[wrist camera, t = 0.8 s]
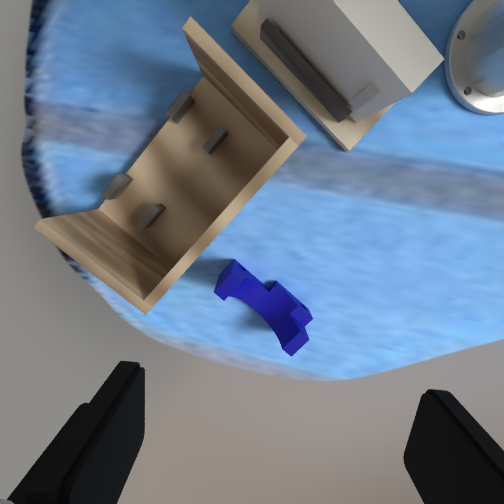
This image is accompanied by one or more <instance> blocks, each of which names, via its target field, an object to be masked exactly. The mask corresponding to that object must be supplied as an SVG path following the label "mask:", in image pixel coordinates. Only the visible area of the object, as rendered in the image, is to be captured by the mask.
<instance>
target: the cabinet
mask: <svg viewBox="0 0 504 504" xmlns="http://www.w3.org/2000/svg"><path fill="white" fill-rule="evenodd" d="M182 29H183V32H184V34H185V36H186V38H187V41H188V43H189V45H190V47H191V50H192V52H193V54H194V56H195V59H196V61H197V63H198V65H199V68H200V70H201V72H202V74H203V76H202V78H201V79H200V80H199V81H198V83H197V84H196V85H195V87H194V88H193V89H192V90H191V92H190V93H188V92H187V91H186V90H185V89H184V90H183V91H182V92H181V93H180V95H179V96H178V97H177V98H176V100H175V101H174V102H173V104H172V105H171V106H170V107H169V109H168V110H167V111H166V114H167V115H168V116H169V117H170V118H169V120H168V121H167V122H166V123H165V125H164V126H163V127H162V129H161V130H160V131H159V132H158V134H157V135H156V136H155V137H154V139H153V140H152V141H151V143H150V144H149V145H148V146H147V148H146V149H145V150H144V151H143V153H142V154H141V155H140V157H139V158H138V159H137V160H136V162H135V163H134V164H133V165H132V167H131V168H130V169H129V171H128V172H127V173H126V174H117V176H116V177H115V178H114V179H113V181H112V182H111V183H110V184H109V186H108V187H107V188H106V190H105V191H104V192H103V193H102V196H103V197H104V198H105V199H106V200H105V201H104V202H103V204H102V205H101V206H100V207H99V209H95V210H89V211H83V212H78V213H72V214H67V215H61V216H55V217H50V218H44V219H40V220H39V221H38V222H37V224H36V225H35V226H34V229H35V230H37V231H38V232H39V233H41V234H42V235H43V236H44V237H46V238H47V239H48V240H50V241H51V242H52V243H53V244H55V245H56V246H57V247H59V248H60V249H61V250H63V251H64V252H65V253H66V254H68V255H69V256H70V257H72V258H73V259H74V260H75V261H77V262H78V263H79V264H81V265H82V266H83V267H84V268H86V269H87V270H88V271H90V272H91V273H92V274H93V275H95V276H96V277H97V278H99V279H100V280H101V281H103V282H104V283H105V284H106V285H108V286H109V287H110V288H112V289H113V290H114V291H115V292H117V293H118V294H119V295H121V296H122V297H123V298H124V299H126V300H127V301H128V302H130V303H131V304H132V305H134V306H135V307H136V308H137V309H139V310H140V311H141V312H143V313H144V314H145V315H146V314H147V313H148V312H149V311H150V310H151V308H152V307H153V306H154V305H155V304H156V303H157V302H158V301H159V300H160V298H161V297H162V296H163V295H164V294H165V293H166V292H167V291H168V290H169V289H170V287H171V286H172V285H173V284H174V283H175V282H176V281H177V280H178V279H179V277H180V276H181V275H182V274H183V273H184V272H185V271H186V270H187V269H188V268H189V266H190V265H191V264H192V263H193V262H194V261H195V260H196V259H197V258H198V256H199V255H200V254H201V253H202V252H203V251H204V250H205V249H206V248H207V246H208V245H209V244H210V243H211V242H212V241H213V240H214V239H215V238H216V237H217V235H218V234H219V233H220V232H221V231H222V230H223V229H224V228H225V227H226V225H227V224H228V223H229V222H230V221H231V220H232V219H233V218H234V217H235V216H236V214H237V213H238V212H239V211H240V210H241V209H242V208H243V207H244V206H245V204H246V203H247V202H248V201H249V200H250V199H251V198H252V197H253V196H254V195H255V193H256V192H257V191H258V190H259V189H260V188H261V187H262V186H263V185H264V183H265V182H266V181H267V180H268V179H269V178H270V177H271V176H272V175H273V174H274V172H275V171H276V170H277V169H278V168H279V167H280V166H281V165H282V164H283V162H284V161H285V160H286V159H287V158H288V157H289V156H290V155H291V154H292V153H293V151H294V150H295V149H296V148H297V147H298V146H299V145H300V144H301V143H302V141H303V140H304V139H305V138H306V137H307V136H306V135H305V134H304V133H303V131H302V130H301V129H300V128H299V127H298V126H297V125H296V124H295V123H294V122H293V121H292V120H291V119H290V118H289V117H288V116H287V115H286V114H285V113H284V112H283V111H282V110H281V109H280V108H279V107H278V106H277V105H276V104H275V103H274V102H273V101H272V100H271V98H270V97H269V96H268V95H267V94H266V93H265V92H264V91H263V90H262V89H261V88H260V87H259V86H258V85H257V84H256V83H255V82H254V81H253V80H252V79H251V78H250V77H249V76H248V75H247V74H246V73H245V72H244V71H243V70H242V69H241V68H240V67H239V65H238V64H237V63H236V62H235V61H234V60H233V59H232V58H231V57H230V56H229V55H228V54H227V53H226V52H225V51H224V50H223V49H222V48H221V47H220V46H219V45H218V44H217V43H216V42H215V41H214V40H213V39H212V38H211V37H210V36H209V35H208V34H207V32H206V31H205V30H204V29H203V28H202V27H201V26H200V25H199V24H198V23H197V22H196V21H195V20H194V19H193V18H192V17H191V16H190V18H189V19H188V20H187V22H186V23H185V24H184V26H183V27H182Z"/></svg>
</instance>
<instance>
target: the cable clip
mask: <svg viewBox="0 0 504 504" xmlns="http://www.w3.org/2000/svg"><path fill="white" fill-rule="evenodd" d="M214 293H215V294H216V295H218V296H219V297H220V298H221V299H222V300H225V299H226V298H227V297H228V296H232V297H236V298H238V299H240V300H242V301H244V302H245V303H247V304H248V305H250V306H251V307H252V308H253V309H255V310H256V311H257V312H258V313H259V314H260V315H261V316H262V317H263V318H264V319H265V321H266V322H267V323H268V324H269V325H270V327H271V328H272V329H273V331H274V332H275V334H276V336H277V337H278V339H279V341H280V344H281V347H282V349H283V350H284V351H285V352H286V353H287V354H289V355H290V356H293V355H294V354H295V353H296V352H297V351H298V350H299V349H300V348H301V347H302V346H303V345H304V344H305V343H306V342H308V341H309V337H308V335H307V332H306V329H305V326H306V325H307V324H308V323H309V322H310V321H311V320H312V319H313V318H312V316H311V313H310V311H309V309H308V308H307V307H306V306H304V305H303V304H302V303H301V302H300V301H299V300H298V299H297V298H295V297H294V296H293V295H292V294H291V293H290V292H289V291H287V290H286V289H285V288H284V287H283V286H282V285H281V284H280V283H278V282H277V281H275V282H274V283H273V284H272V285H271V286H270V288H269V289H268V288H267V287H266V286H265V285H264V284H263V283H261V282H260V281H259V280H258V279H257V278H256V277H255V276H253V275H252V274H251V273H250V272H249V271H248V270H247V269H245V268H244V267H243V266H242V265H241V264H240V263H238V262H237V261H236V260H235V259H234V260H233V261H232V262H231V263H230V264H229V266H228V267H227V268H226V269H225V270H224V271H223V272H222V273H221V274H220V275H219V278H218V281H217V284H216V287H215V290H214Z"/></svg>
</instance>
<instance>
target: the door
mask: <svg viewBox="0 0 504 504" xmlns="http://www.w3.org/2000/svg"><path fill="white" fill-rule="evenodd" d="M258 17H259V18H260V19H261V20H262V21H263V22H264V21H265V19H266V18H267V19H268V20H269V21H270V22H271V23H272V24H273V25H274V27H275V28H276V29H277V30H278V31H279V32H280V33H281V34H282V35H283V36H284V38H285V39H286V40H287V41H288V42H289V43H290V44H291V45H292V46H293V47H294V48H295V50H296V51H297V52H298V53H299V54H300V55H301V56H302V57H303V58H304V59H305V60H306V62H307V63H308V64H309V65H310V66H311V67H312V68H313V69H314V70H315V71H316V73H317V74H318V75H319V76H320V77H321V78H322V79H323V80H324V81H325V82H326V83H327V85H328V86H329V87H330V88H331V89H332V90H333V91H334V92H335V93H336V94H337V95H338V97H339V98H340V99H341V100H342V101H343V102H344V103H345V104H346V105H347V106H348V108H349V109H350V110H351V111H352V113H351V114H350V115H349V116H350V117H351V118H352V119H353V120H354V121H355V122H356V123H359V122H360V121H362V120H364V119H366V118H368V117H370V116H371V115H373V114H375V113H377V112H379V111H381V110H382V109H384V108H386V107H388V106H390V105H391V104H393V103H395V102H397V101H399V100H401V99H402V98H404V97H406V96H408V95H410V94H411V93H413V92H414V91H415V90H416V89H417V87H418V86H419V85H420V84H421V83H422V82H423V81H424V80H425V79H426V78H427V77H428V76H429V75H430V74H431V73H432V72H433V71H434V70H435V69H436V68H437V67H438V65H439V64H440V63H441V62H442V61H443V60H444V58H443V56H442V55H441V54H440V53H439V51H438V50H437V49H436V48H435V46H434V45H433V44H432V43H431V41H430V40H429V39H428V38H427V36H426V35H425V34H424V33H423V31H422V30H421V29H420V28H419V27H418V25H417V24H416V23H415V22H414V20H413V19H412V18H411V17H410V15H409V14H408V13H407V12H406V10H405V9H404V8H403V7H402V5H401V4H400V3H399V2H398V0H259V4H258Z"/></svg>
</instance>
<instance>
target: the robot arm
mask: <svg viewBox="0 0 504 504" xmlns="http://www.w3.org/2000/svg"><path fill="white" fill-rule="evenodd" d="M444 70H445V76H446V80H447V84H448V86H449V88H450V91H451V93H452V94H453V96H454V97H455V98H456V100H457V101H458V102H459V103H460V104H461V105H463V106H464V107H465V108H467V109H468V110H470V111H472V112H474V113H478V114H482V115H499V114H504V0H473V1H472V2H471V3H470V4H469V5H468V6H467V7H466V8H465V9H464V10H463V12H462V13H461V15H460V16H459V18H458V19H457V21H456V22H455V24H454V26H453V28H452V30H451V32H450V34H449V38H448V41H447V45H446V49H445V57H444ZM144 421H145V369H144V368H143V367H140V364H139V363H138V362H129V361H120V362H119V363H118V365H117V366H116V367H115V369H114V370H113V371H112V373H111V374H110V376H109V377H108V379H107V380H106V381H105V382H104V384H103V385H102V386H101V388H100V389H99V390H98V392H97V393H96V395H95V396H94V397H93V399H92V400H91V401H90V403H83V404H81V405H80V406H79V407H78V408H77V409H76V411H75V412H74V413H73V415H72V416H71V417H70V418H69V420H68V421H67V422H66V424H65V425H64V426H63V427H62V429H61V430H60V431H59V433H58V434H57V435H56V436H55V438H54V439H53V440H52V442H51V443H50V444H49V446H48V447H47V448H46V450H45V451H44V452H43V453H42V455H41V456H40V457H39V459H38V460H37V461H36V462H35V464H34V465H33V466H32V468H31V469H30V470H29V471H28V473H27V474H26V475H25V477H24V478H23V479H22V481H21V482H20V483H19V485H18V486H17V487H16V488H15V490H14V491H13V492H12V493H11V495H10V496H9V497H8V499H7V500H3V499H0V504H117V502H118V499H119V497H120V495H121V492H122V490H123V488H124V485H125V483H126V481H127V478H128V476H129V474H130V471H131V469H132V466H133V464H134V462H135V459H136V457H137V455H138V452H139V450H140V448H141V445H142V442H143V439H144V431H145V422H144ZM404 464H405V467H406V470H407V471H408V473H409V475H410V477H411V479H412V481H413V483H414V485H415V487H416V489H417V491H418V493H419V494H420V496H421V498H422V500H423V502H424V504H504V451H503V450H502V448H500V446H499V445H498V444H497V443H496V442H495V441H494V440H493V439H492V438H491V436H490V435H489V434H488V433H487V432H486V431H485V430H484V429H483V428H482V427H481V425H479V423H478V422H477V421H476V420H475V419H474V418H473V417H472V416H471V415H470V413H469V412H468V411H467V410H466V409H465V408H464V407H463V406H462V405H461V404H460V403H459V401H458V400H457V399H456V398H455V397H454V396H453V395H452V394H451V393H450V392H448V391H443V390H433V389H429V390H427V391H426V393H425V394H423V395H422V396H421V399H420V403H419V406H418V409H417V412H416V416H415V419H414V422H413V426H412V429H411V432H410V436H409V439H408V442H407V445H406V449H405V452H404Z"/></svg>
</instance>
